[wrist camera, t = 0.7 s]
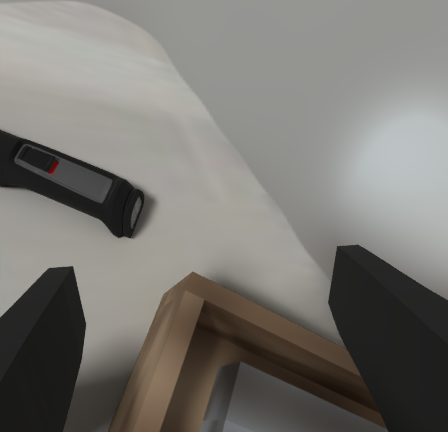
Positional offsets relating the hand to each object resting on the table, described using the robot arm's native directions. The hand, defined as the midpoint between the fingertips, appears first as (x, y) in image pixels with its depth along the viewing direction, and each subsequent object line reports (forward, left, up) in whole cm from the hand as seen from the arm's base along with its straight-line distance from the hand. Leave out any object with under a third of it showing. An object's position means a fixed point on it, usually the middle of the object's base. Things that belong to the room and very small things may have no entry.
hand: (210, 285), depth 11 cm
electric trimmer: (+8, +9, -16) cm, 20 cm away
